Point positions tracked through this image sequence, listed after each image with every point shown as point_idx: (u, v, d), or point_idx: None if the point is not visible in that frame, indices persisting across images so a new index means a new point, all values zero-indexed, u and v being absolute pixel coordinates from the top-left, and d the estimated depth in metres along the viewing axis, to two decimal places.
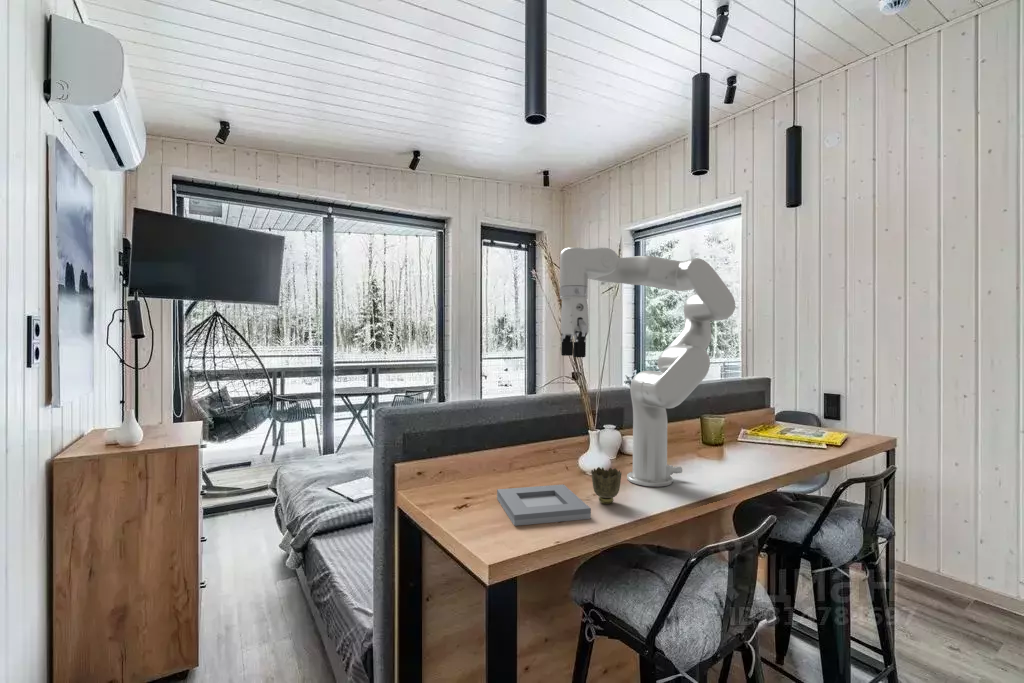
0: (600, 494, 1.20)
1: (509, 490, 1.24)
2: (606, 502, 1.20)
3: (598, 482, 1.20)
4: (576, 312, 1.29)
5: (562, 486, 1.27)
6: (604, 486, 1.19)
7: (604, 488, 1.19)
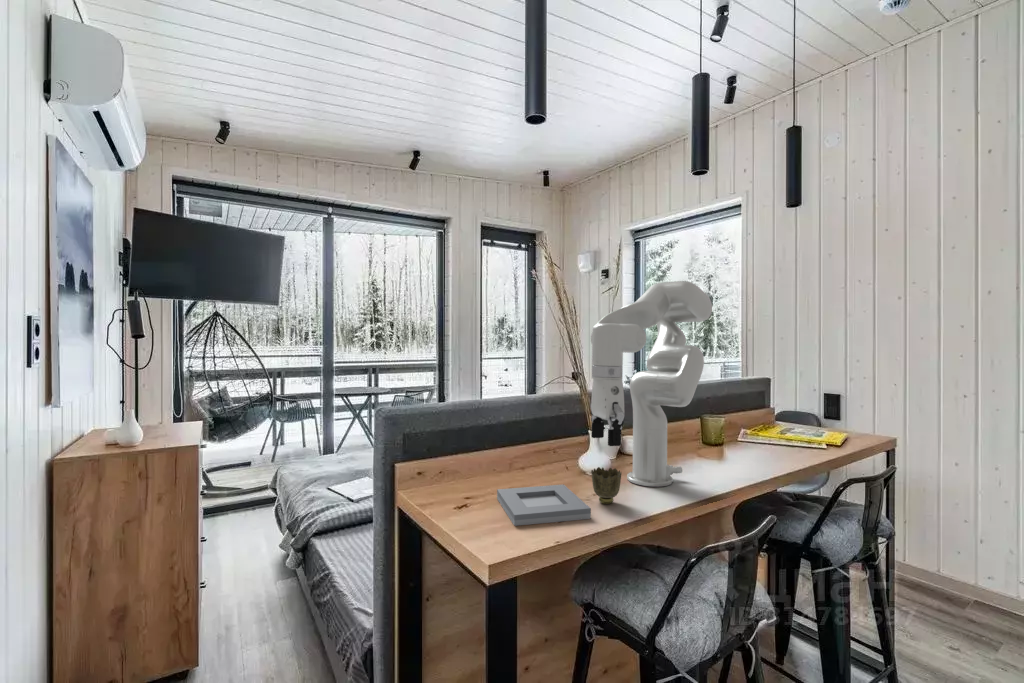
0: (600, 494, 1.20)
1: (509, 490, 1.24)
2: (606, 502, 1.20)
3: (598, 482, 1.20)
4: (611, 396, 1.17)
5: (562, 486, 1.27)
6: (604, 486, 1.19)
7: (604, 488, 1.19)
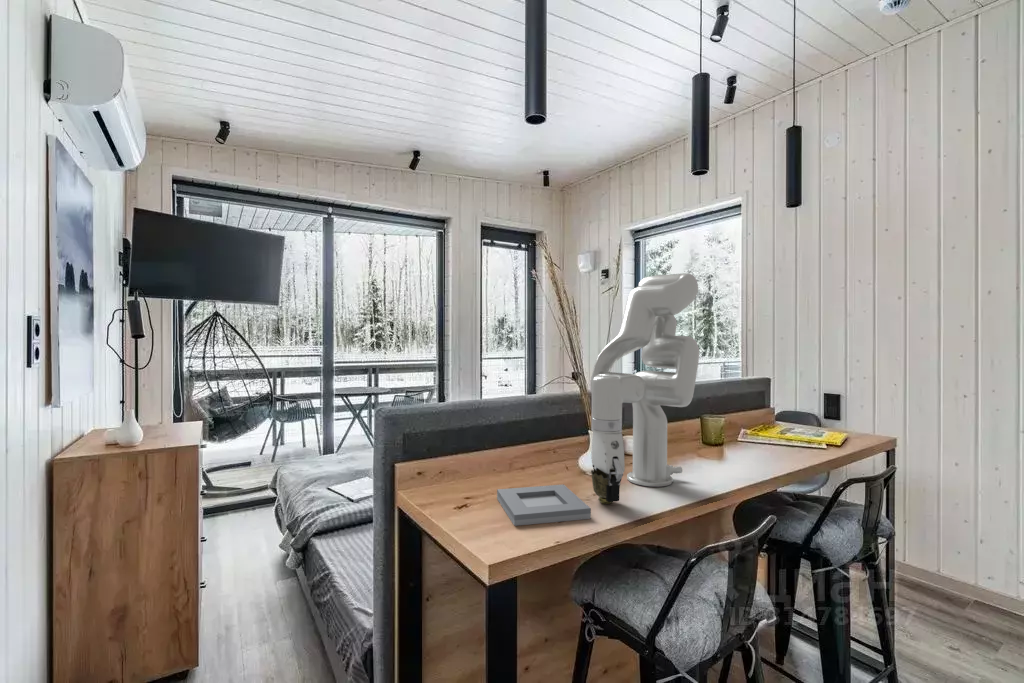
0: (600, 494, 1.20)
1: (509, 490, 1.24)
2: (606, 502, 1.20)
3: (598, 482, 1.20)
4: (611, 451, 1.17)
5: (562, 486, 1.27)
6: (604, 486, 1.19)
7: (604, 488, 1.19)
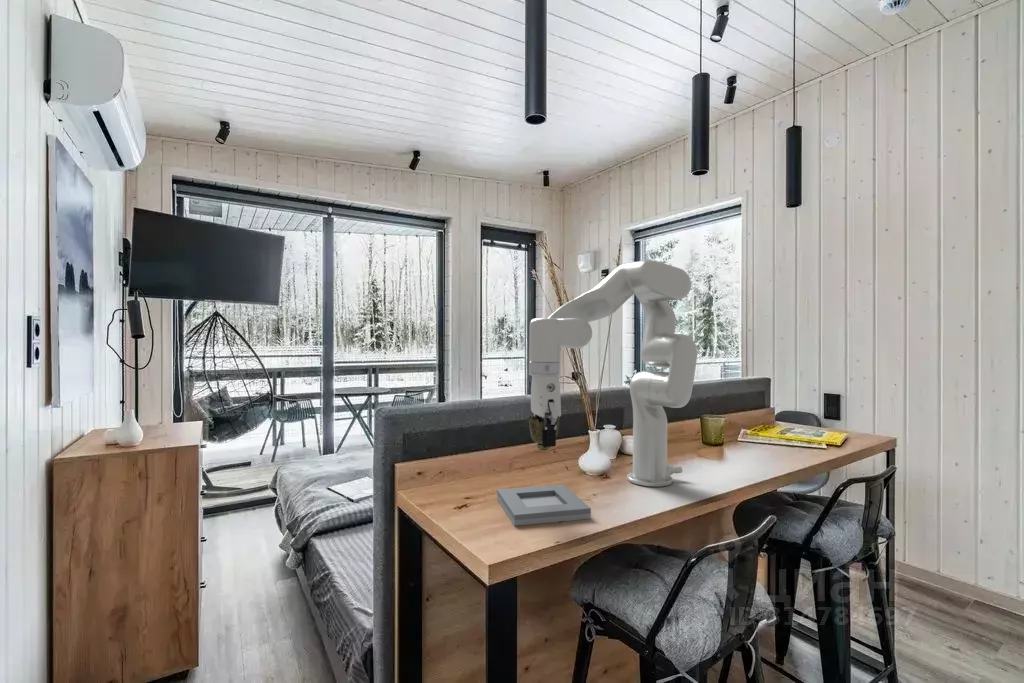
0: (536, 440, 1.16)
1: (509, 490, 1.24)
2: (543, 448, 1.16)
3: (534, 427, 1.15)
4: (546, 393, 1.13)
5: (562, 486, 1.27)
6: (540, 431, 1.15)
7: (540, 432, 1.15)
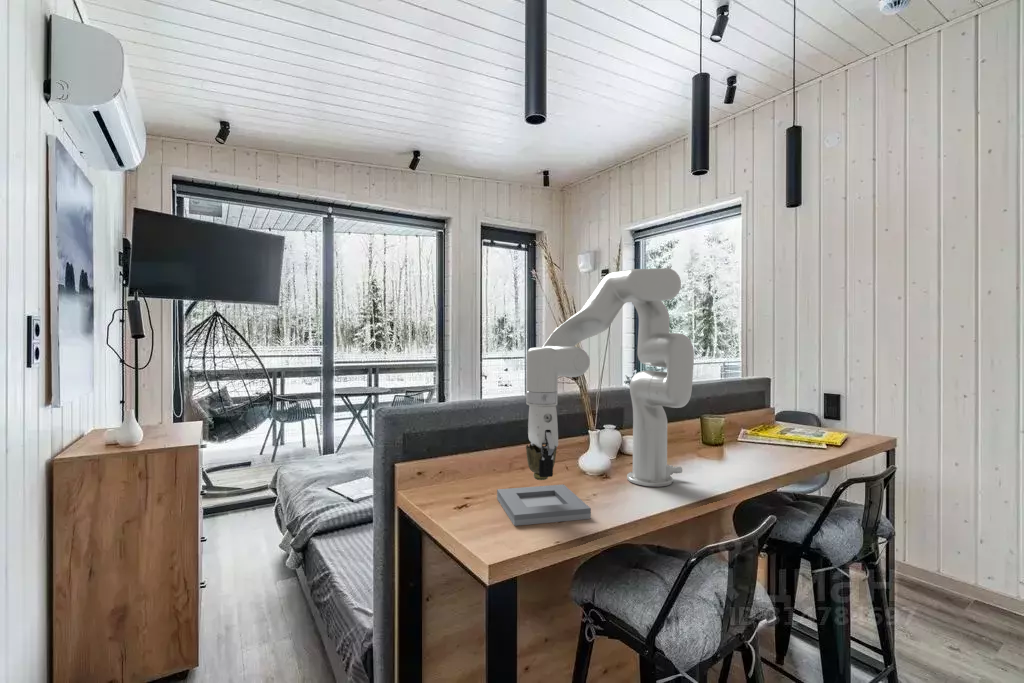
0: (533, 469, 1.16)
1: (509, 490, 1.24)
2: (540, 478, 1.16)
3: (531, 457, 1.15)
4: (543, 424, 1.13)
5: (562, 486, 1.27)
6: (537, 461, 1.15)
7: (538, 462, 1.15)
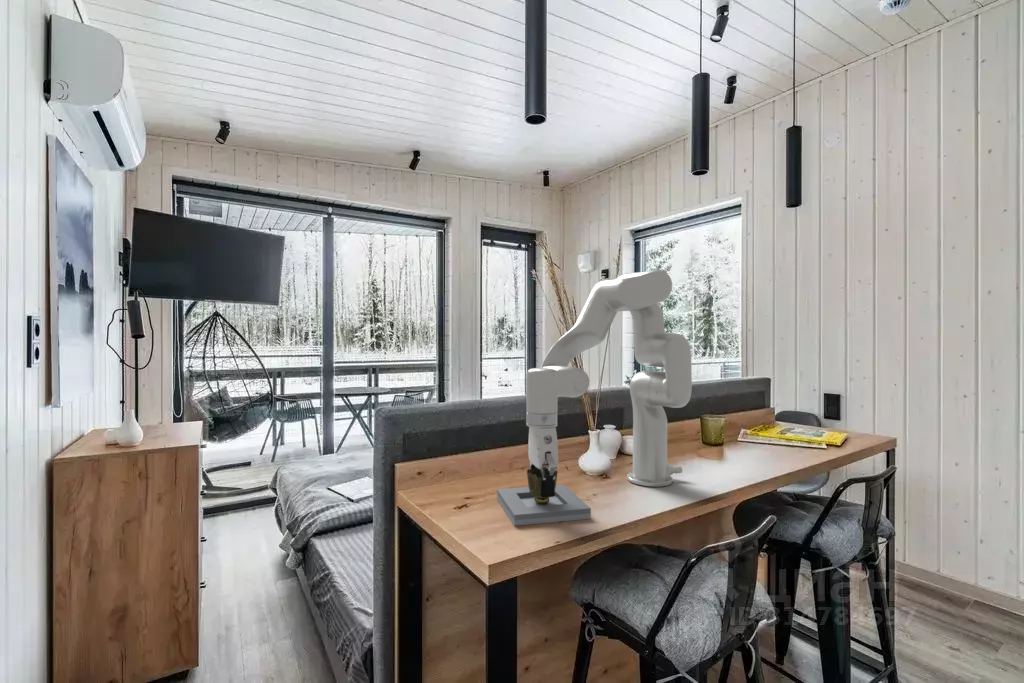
0: (534, 494, 1.16)
1: (509, 490, 1.24)
2: (541, 502, 1.17)
3: (532, 482, 1.16)
4: (543, 445, 1.13)
5: (562, 486, 1.27)
6: (538, 486, 1.15)
7: (538, 487, 1.15)
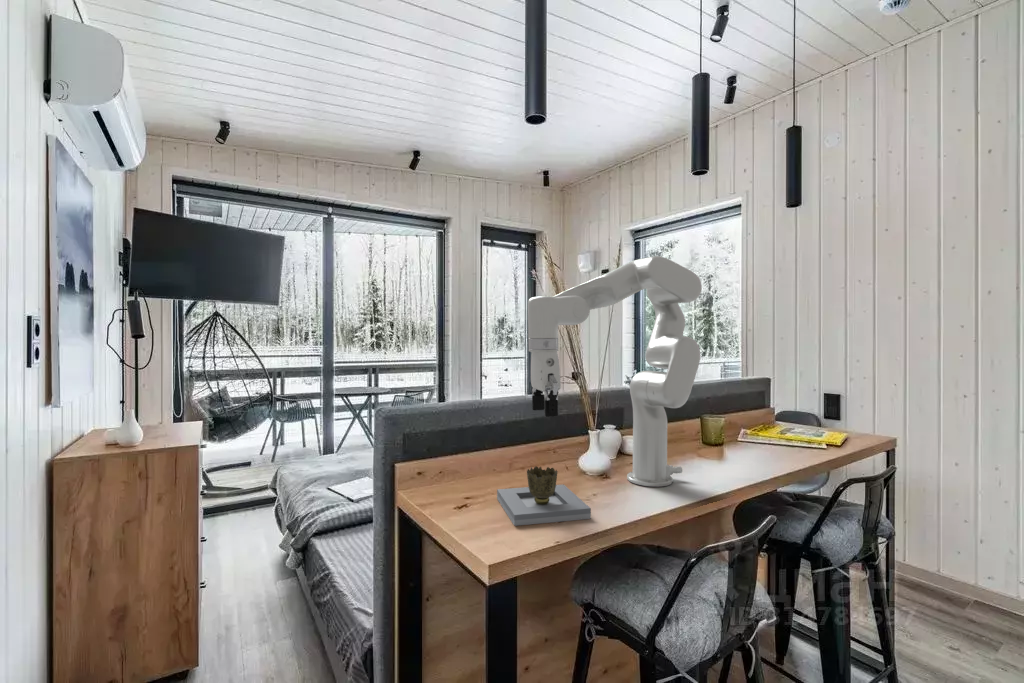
0: (534, 494, 1.16)
1: (509, 490, 1.24)
2: (541, 502, 1.17)
3: (532, 482, 1.16)
4: (546, 368, 1.18)
5: (562, 486, 1.27)
6: (538, 486, 1.15)
7: (538, 487, 1.15)
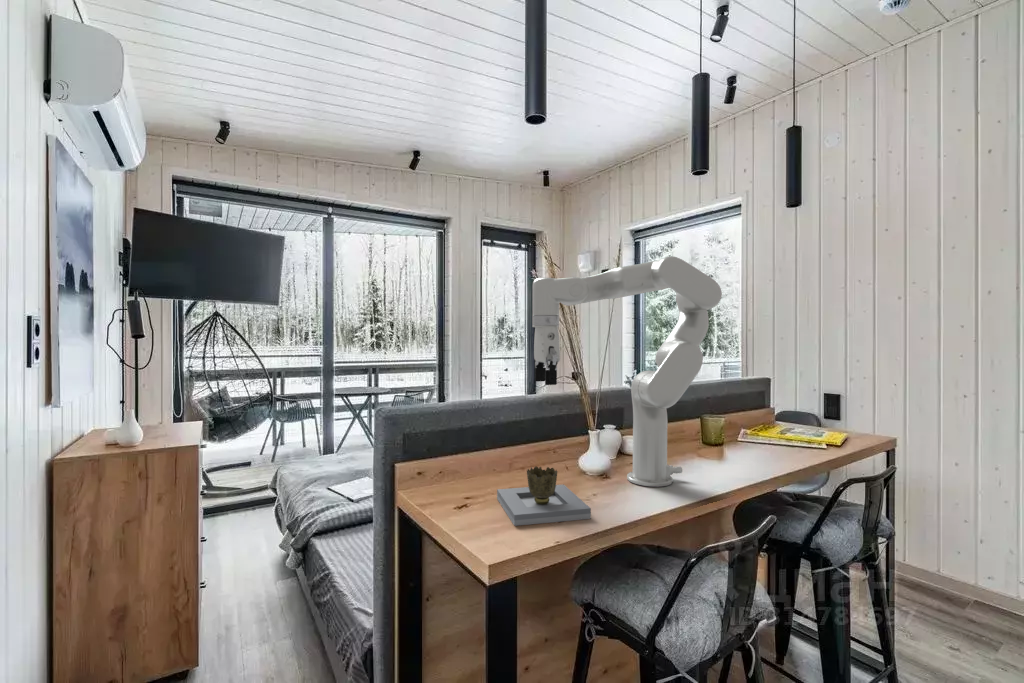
0: (534, 494, 1.16)
1: (509, 490, 1.24)
2: (541, 502, 1.17)
3: (532, 482, 1.16)
4: (547, 341, 1.33)
5: (562, 486, 1.27)
6: (538, 486, 1.15)
7: (538, 487, 1.15)
